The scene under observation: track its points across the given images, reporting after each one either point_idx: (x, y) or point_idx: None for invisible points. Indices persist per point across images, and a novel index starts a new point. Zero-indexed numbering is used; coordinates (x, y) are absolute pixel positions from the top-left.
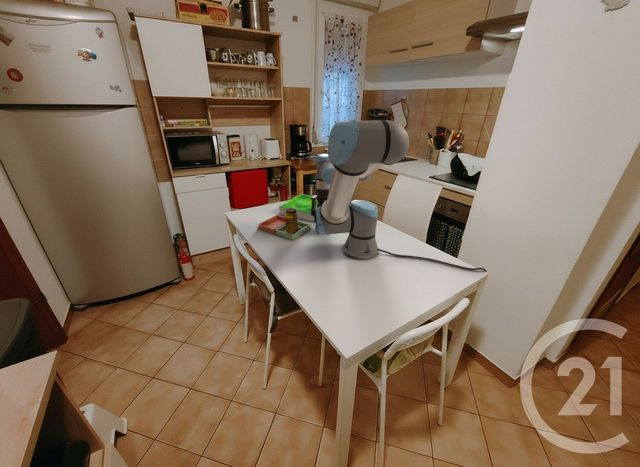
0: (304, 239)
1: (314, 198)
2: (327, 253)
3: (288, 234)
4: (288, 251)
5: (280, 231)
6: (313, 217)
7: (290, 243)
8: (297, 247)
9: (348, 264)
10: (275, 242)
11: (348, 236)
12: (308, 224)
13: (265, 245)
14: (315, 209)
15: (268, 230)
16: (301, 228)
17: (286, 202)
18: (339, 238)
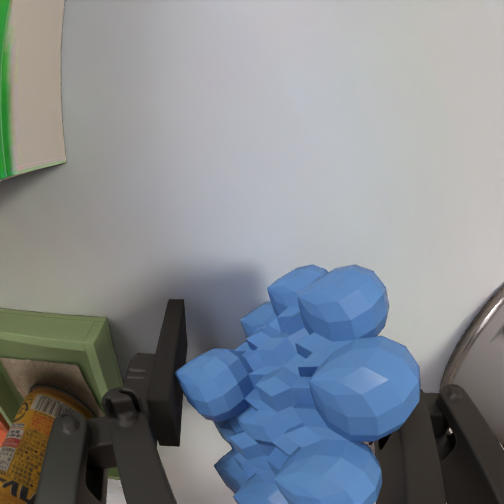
0: (196, 440)
1: None
2: (373, 447)
3: (118, 479)
4: (211, 500)
5: None
6: (3, 179)
7: (167, 476)
8: (222, 482)
9: (450, 431)
10: (111, 482)
11: (493, 431)
12: (81, 350)
13: (107, 496)
14: (78, 494)
15: (3, 435)
16: (72, 371)
17: None
18: (407, 320)
